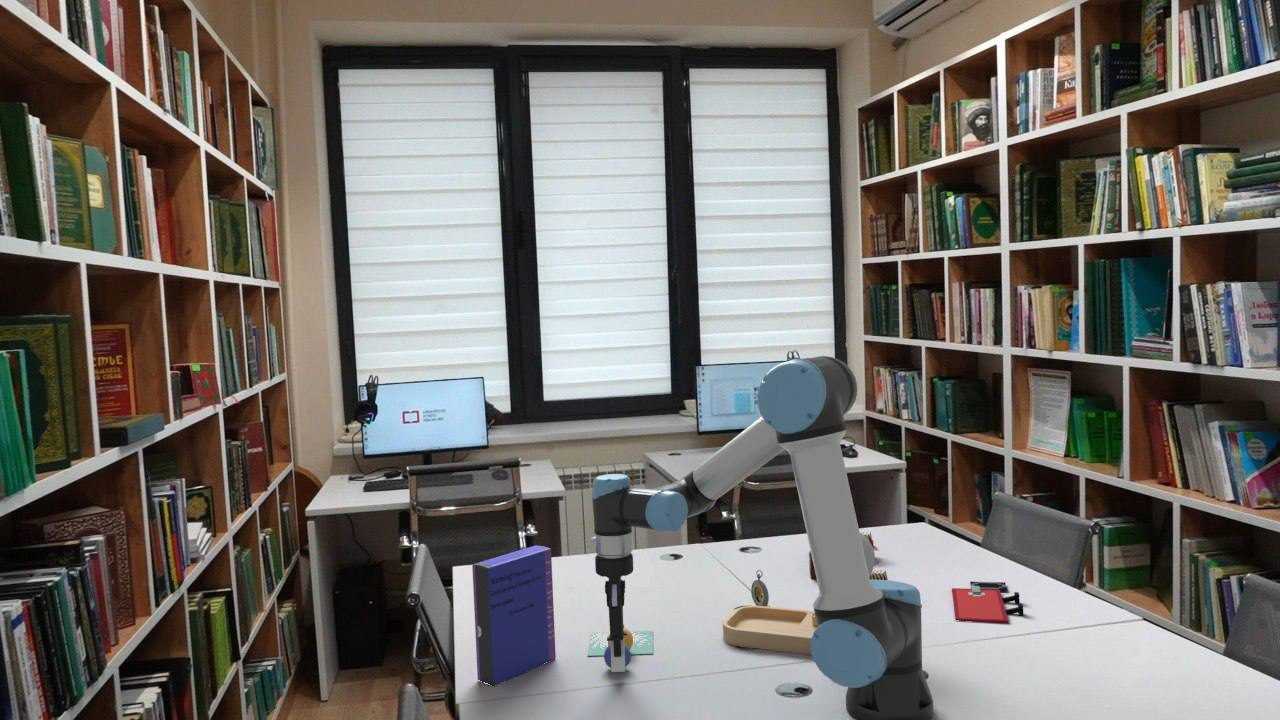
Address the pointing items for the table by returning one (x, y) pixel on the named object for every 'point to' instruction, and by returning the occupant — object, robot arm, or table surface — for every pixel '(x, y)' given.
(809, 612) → the lamp
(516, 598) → the purple book
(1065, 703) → the table surface
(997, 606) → the red board with handle
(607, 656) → the blue ball
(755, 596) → the pocket watch
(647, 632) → the green mark
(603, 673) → the table surface
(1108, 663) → the table surface
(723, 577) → the table surface
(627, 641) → the orange ball
